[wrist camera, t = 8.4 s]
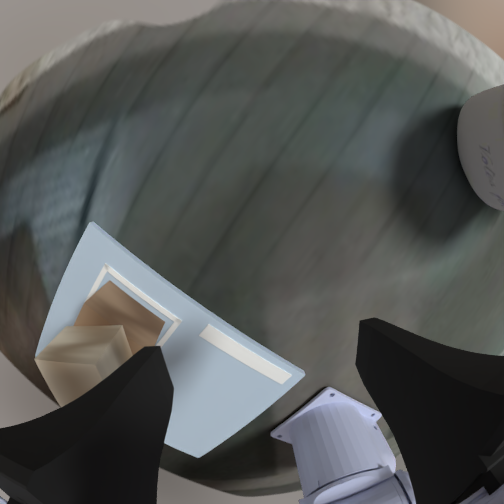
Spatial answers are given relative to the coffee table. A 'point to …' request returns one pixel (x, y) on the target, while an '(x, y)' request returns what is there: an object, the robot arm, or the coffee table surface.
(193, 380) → the board
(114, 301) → the walnut base
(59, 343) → the maple block
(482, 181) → the teacup
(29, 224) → the coffee table surface
